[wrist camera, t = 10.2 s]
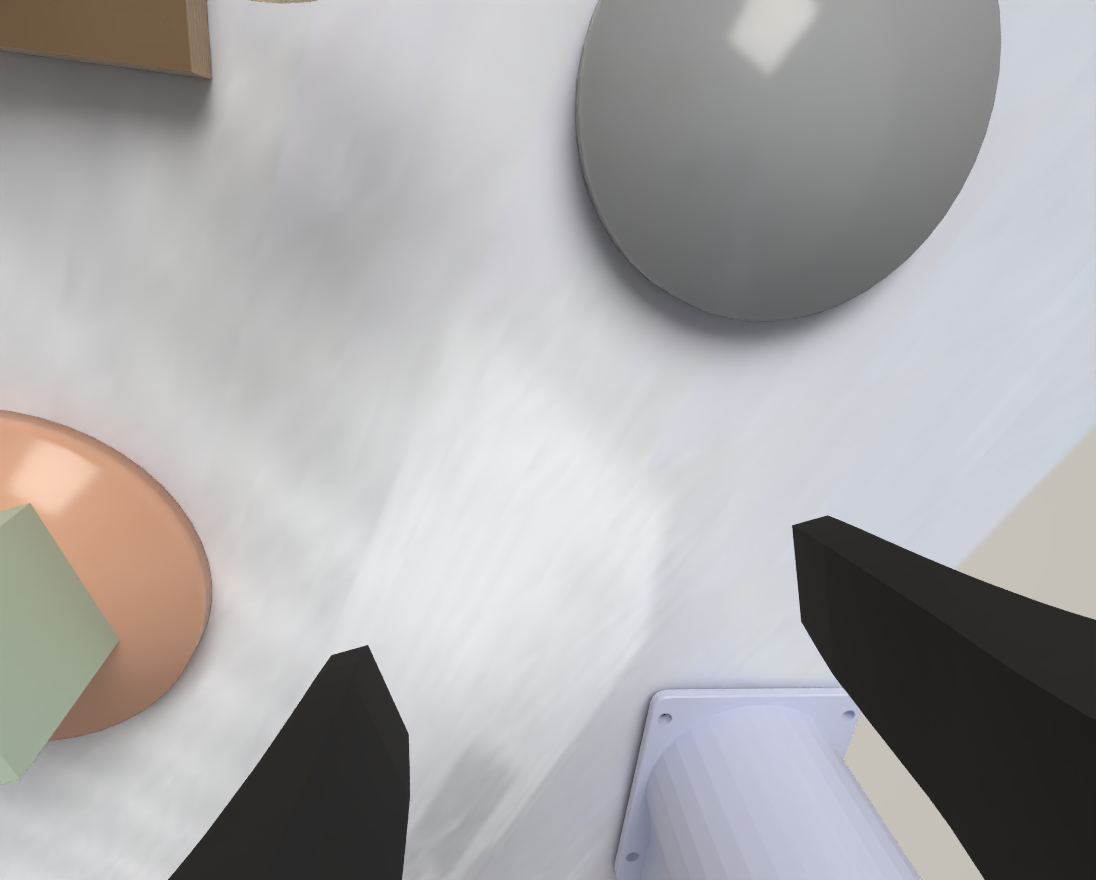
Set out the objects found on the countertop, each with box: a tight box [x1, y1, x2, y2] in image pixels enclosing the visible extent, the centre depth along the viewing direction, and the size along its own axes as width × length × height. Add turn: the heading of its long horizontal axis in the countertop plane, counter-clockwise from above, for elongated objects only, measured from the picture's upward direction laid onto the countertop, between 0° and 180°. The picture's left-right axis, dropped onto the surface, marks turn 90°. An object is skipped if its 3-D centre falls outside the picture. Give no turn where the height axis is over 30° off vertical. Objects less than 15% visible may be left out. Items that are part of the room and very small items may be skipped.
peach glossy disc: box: [0, 410, 212, 741], centre depth 17 cm, size 10×10×1 cm
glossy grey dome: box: [575, 0, 1001, 321], centre depth 15 cm, size 10×10×1 cm
